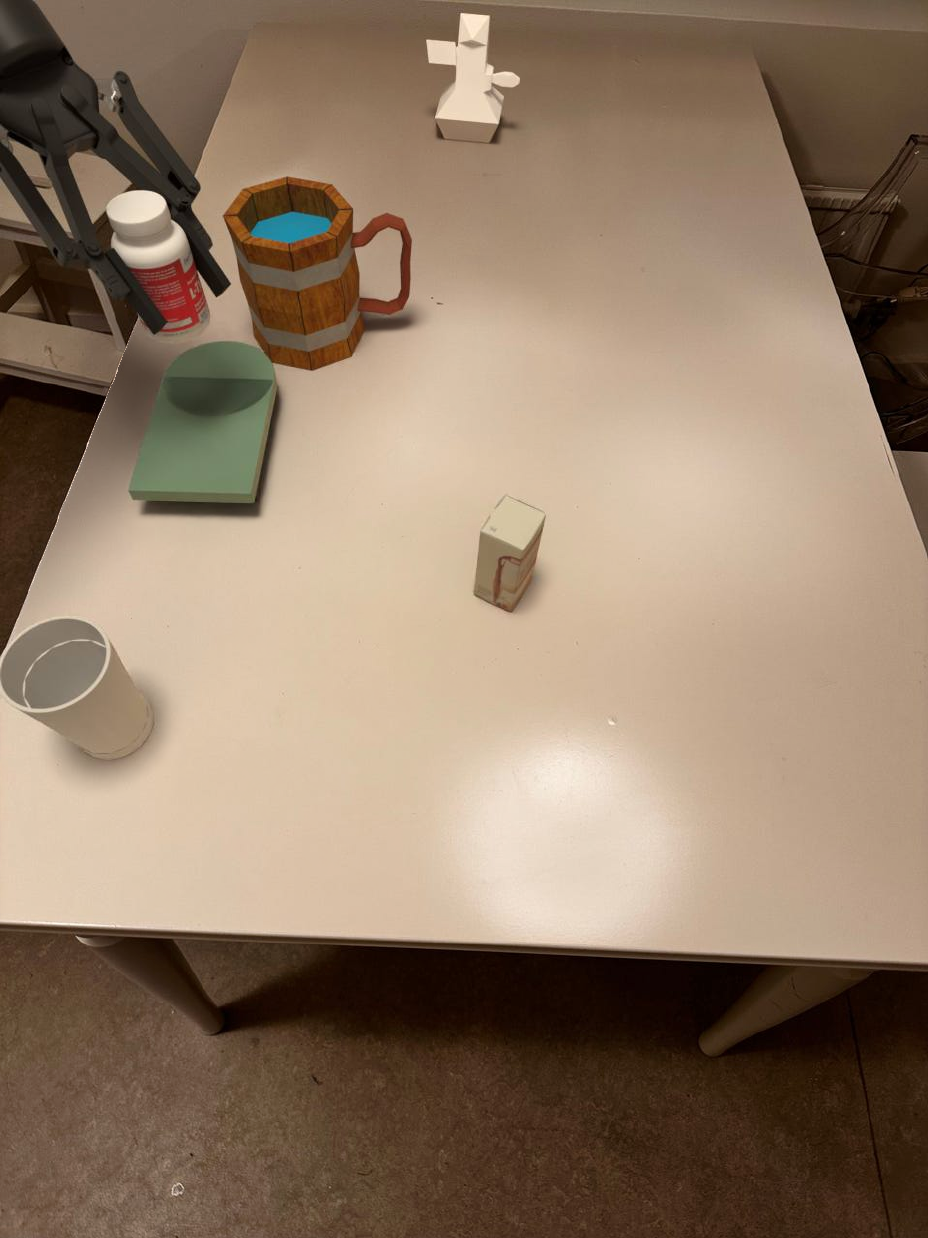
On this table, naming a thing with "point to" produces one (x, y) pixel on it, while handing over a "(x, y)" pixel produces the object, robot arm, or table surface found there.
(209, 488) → the green rounded-end slab
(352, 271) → the mug
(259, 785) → the table surface
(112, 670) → the cup
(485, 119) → the white low-poly figurine
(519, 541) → the small juice carton
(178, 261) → the pill bottle
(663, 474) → the table surface
